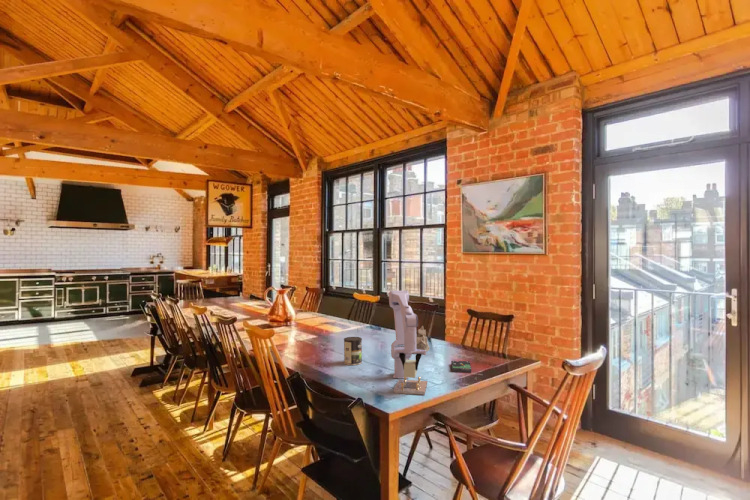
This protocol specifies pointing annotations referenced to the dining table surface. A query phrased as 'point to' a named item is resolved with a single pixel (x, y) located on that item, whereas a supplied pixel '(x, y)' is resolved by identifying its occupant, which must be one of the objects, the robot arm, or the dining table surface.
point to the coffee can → (352, 350)
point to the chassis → (411, 387)
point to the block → (410, 368)
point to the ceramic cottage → (422, 340)
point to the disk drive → (461, 366)
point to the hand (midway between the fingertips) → (410, 369)
